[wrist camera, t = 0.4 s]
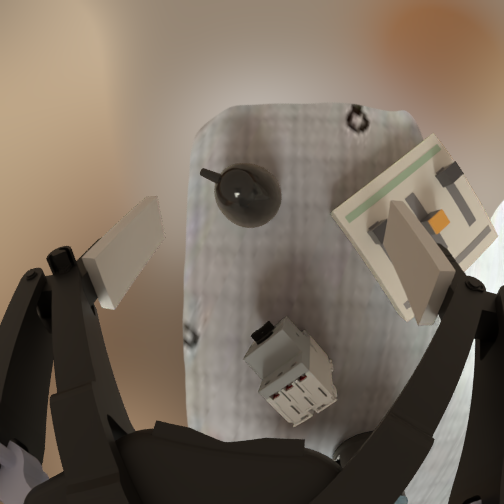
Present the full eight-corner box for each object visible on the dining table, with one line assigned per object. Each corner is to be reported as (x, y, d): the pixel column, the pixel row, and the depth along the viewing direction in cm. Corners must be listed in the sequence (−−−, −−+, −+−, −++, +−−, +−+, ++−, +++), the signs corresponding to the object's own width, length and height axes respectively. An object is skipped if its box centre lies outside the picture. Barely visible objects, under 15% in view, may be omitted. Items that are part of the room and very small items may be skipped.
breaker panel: (484, 236, 42) (510, 235, 33) (398, 314, 46) (414, 328, 37) (424, 141, 44) (442, 124, 35) (330, 214, 48) (334, 207, 39)
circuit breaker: (282, 303, 50) (270, 327, 35) (332, 360, 48) (338, 401, 34) (251, 329, 51) (228, 360, 37) (300, 383, 50) (295, 428, 35)
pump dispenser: (240, 163, 51) (213, 134, 36) (293, 185, 49) (285, 161, 34) (217, 214, 52) (181, 204, 37) (268, 238, 50) (251, 236, 35)
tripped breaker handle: (438, 224, 39) (450, 222, 35) (426, 235, 40) (437, 234, 35) (430, 212, 39) (442, 208, 35) (418, 222, 40) (429, 220, 35)
